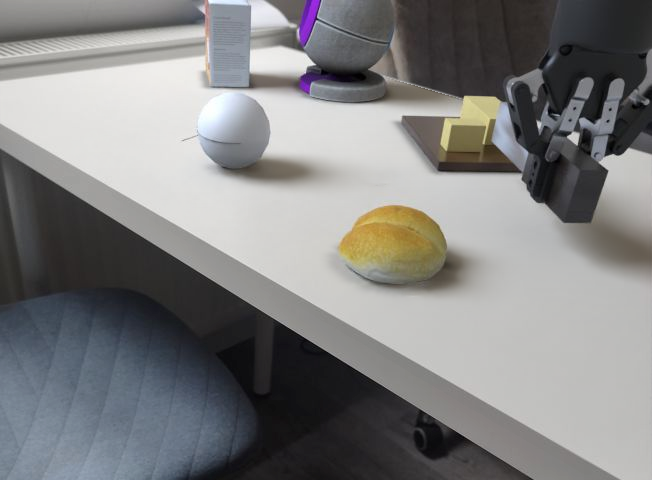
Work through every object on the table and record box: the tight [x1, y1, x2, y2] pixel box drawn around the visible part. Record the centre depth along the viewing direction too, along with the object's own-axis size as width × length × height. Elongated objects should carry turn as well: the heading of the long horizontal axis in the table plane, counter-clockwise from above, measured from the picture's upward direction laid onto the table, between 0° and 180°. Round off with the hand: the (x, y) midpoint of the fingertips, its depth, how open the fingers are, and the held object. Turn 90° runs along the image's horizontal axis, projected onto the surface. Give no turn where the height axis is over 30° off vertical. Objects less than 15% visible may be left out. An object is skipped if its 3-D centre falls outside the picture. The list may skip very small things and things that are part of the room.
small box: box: [204, 0, 252, 88], centre depth 96 cm, size 8×6×10 cm
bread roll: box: [338, 204, 448, 285], centre depth 56 cm, size 8×9×4 cm
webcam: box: [298, 0, 396, 103], centre depth 94 cm, size 13×13×15 cm
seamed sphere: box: [180, 91, 272, 170], centre depth 69 cm, size 10×7×7 cm
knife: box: [491, 101, 609, 224], centre depth 63 cm, size 19×2×4 cm, turn 8°
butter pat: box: [440, 118, 486, 152], centre depth 77 cm, size 4×2×3 cm, turn 98°
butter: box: [459, 95, 502, 145], centre depth 82 cm, size 4×9×3 cm, turn 8°
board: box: [400, 115, 523, 173], centre depth 82 cm, size 14×16×1 cm
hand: (554, 199), depth 60 cm, fingers closed on knife, 2 cm apart
